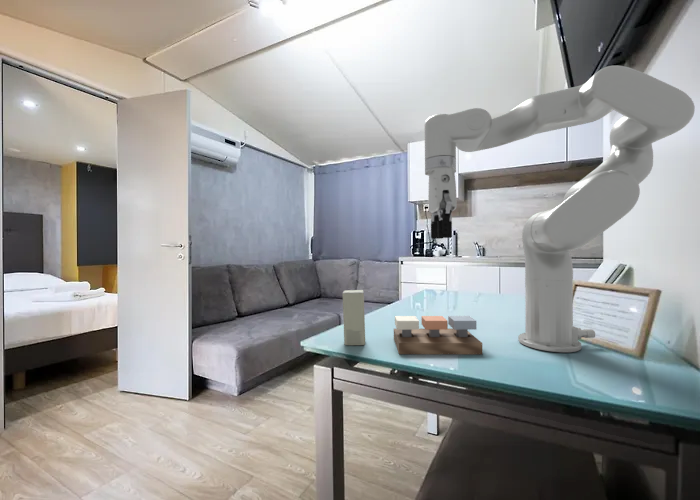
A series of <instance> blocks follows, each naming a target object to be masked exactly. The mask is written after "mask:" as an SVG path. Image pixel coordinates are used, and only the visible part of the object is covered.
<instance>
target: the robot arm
mask: <svg viewBox="0 0 700 500" xmlns="http://www.w3.org/2000/svg"><path fill="white" fill-rule="evenodd" d="M695 110H696V109H695V103H694V101H693V99H692V98H691V96H689V94H687V93H686V91H685V92H684V91H683V90H682V89H679V88H677V87H676V86H673V85H671V84H669V83H667V82H665V81H664V80H661V79H658V78H656V77H654V76H652V75H650V74H647V73H645V72H643V71H641V70H638V69H635V68H632V67H628V66H625V65H608V66H605V67H602V68H601V69H599V70H598V71H597V72H595V73H594V74H593V75H592V76H591V77H590V78H589V79H588V80H587V81H586V82H584V83H583V84H580V85H578V86H577V85H576V86H573V87H568V88H564V89H560V90H556V91H552V92H547V93H546V92H545V93H543V94H538V95H537V94H536V95H535V96H532V97H530V98H528V99H526V100H525V101H523V102H521V103H520V104H519V105H517V106H516V107H514V108H513V109H510V111H508V112H505V113H504V114H502V115H499V116H497V117H494V118H492V116H491V114H490V112H488V110H486V109H483V108H479V107H473V108H469V109H465V110H462V111H457V112H455V113H450V114H449V113H440V114H439V113H437V114H434V115H432V116H429V117H428V118H427V119H426V120H425V123H424V175H425V176H428V198H427V199H428V211H429V213H430V214H431V215H430V216H431V217H430V239H433V240H434V239H437V240H439V239H441V240H442V239H448V238H449V239H450V238H452V237H453V221H452V220H453V215H452V213H453V211H455V210H456V209H457V206H458V202H457V200H458V199H457V182H456V174H455V173H456V172H457V149H458V150H459V151H462V152H463V153H464V152H465V153H473V152H479V151H483V150H488V149H493V148H497V147H501V146H504V145H506V144H510V143H514V142H516V141H520V140H523V139H526V138H529V137H532V136H534V135H538V134H543V133H546V132H551V131H552V132H553V131H555V130H556V131H557V130H562V129H567V128H572V127H576V126H582V125H584V124H590V123H593V122H596V121H598V120H601V119H602V118H604V117H605V116H607V115H609V114H610V113H611V112H613V111H615V112H616V113H618V114H621V115H622V116H621V117H619V119H617V120H616V122H615V123H614V124H613V125H612V127H611V128H610V133H609V146H610V147H609V148H610V153H609V155H608V157H607V158H606V159H605V160H604V161H603V162H602V163H601V164H599V165H598V166H597V167H596V168H595V169H593V170H591V172H589V173H588V174H587V175H586V176H584V177H583V178H581V179H580V180H579V181H578V182H576V183H574V184H573V185H572V186H571V187H570V188H569V189H568V190H567V191H566V192H565V195H564V196H563V199H562V202H561V203H560V204H558V205H557V206H556V207H554V208H553V207H552V208H549V209H547V210H546V209H544V210H541V211H539V212H537V213H535V214H533V215H531V216H530V217H529V218H528V219H527V220H526V221H525V223H524V225H523V228H522V231H521V233H522V234H521V236H522V237H521V239H522V247H523V253H524V254H523V255H524V267H525V268H524V270H525V271H524V276H525V277H524V280H525V281H524V282H525V283H524V284H525V285H524V290H525V291H524V292H525V293H524V294H525V295H524V299H525V300H524V301H525V303H524V304H525V305H524V306H525V308H524V309H525V311H524V312H525V313H524V314H525V316H524V319H525V330H524V331H525V332H523V333H520V334H519V335H517V336H518V339H517V340H518V341H519V343H520V344H522V345H524V346H526V347H529V348H532V349H536V350H540V351H546V352H550V353H551V352H553V353H575V352H576V353H577V352H579V351H580V350H582V343H581V342H580V341H579V340H581V339H582V338H585V339H594V338H596V331H595V330H594V329H585V328H584V329H581V327H576V326H574V303H573V302H574V295H573V293H574V286H573V285H574V268H573V267H574V266H573V260H572V257H571V252H572V251H575V250H578V249H581V248H583V247H585V246H586V245H588V244H589V243H590V242H593V240H595V239H596V238H598V237H599V236H600V235H601V234H603V233H605V231H607V230H608V229H610V228H611V227H612V226H614V225H615V224H616V223H617V222H619V221H620V220H621V219H623V218H624V217H625V216H626V215H627V214H628V213H630V212H631V211H632V210H633V209H634V207H635V205H636V204H637V202H638V201H639V199H640V198H639V197H640V194H641V191H640V184H641V183H642V182H644V180H645V179H646V178H647V177H648V176H649V175H650V173H651V171H652V169H653V166H654V150H653V143H655V142H657V141H660V140H662V139H665V138H667V137H669V136H672V135H674V134H675V133H678V132H679V131H681V130H682V129H684V128H685V127H686V126H687V125H688V124H689V123H690V122H691V121H692V119H693V117H694V114H695Z"/></svg>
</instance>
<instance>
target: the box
mask: <svg viewBox="0 0 700 500" xmlns="http://www.w3.org/2000/svg"><path fill="white" fill-rule="evenodd" d="M364 293H365V292H364V290H363V289H350V290H348V289H347V290H343V292H342V313H343V314H342V317H343V343H344V345H345V346H365V345H366V323H365V320H366V318H365V317H366V316H365V295H364Z"/></svg>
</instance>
